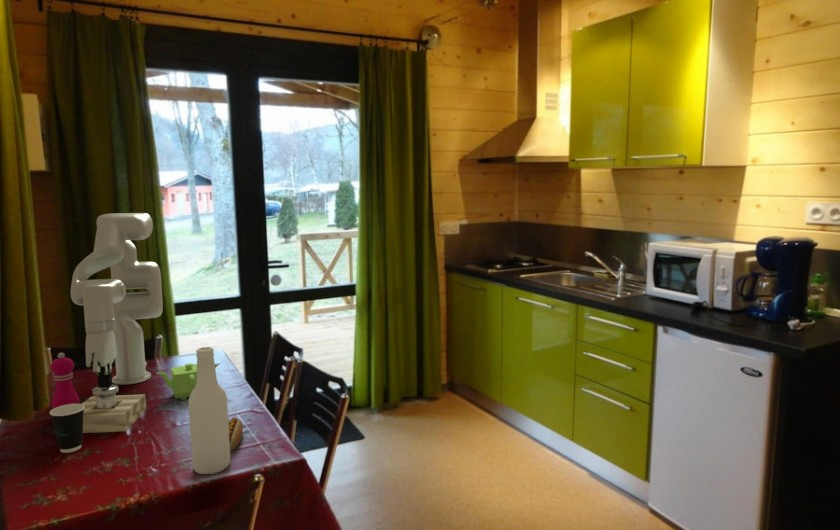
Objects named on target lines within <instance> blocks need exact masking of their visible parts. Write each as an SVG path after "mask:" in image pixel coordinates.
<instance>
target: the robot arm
mask: <svg viewBox="0 0 840 530" xmlns="http://www.w3.org/2000/svg"><path fill="white" fill-rule="evenodd" d="M153 227H154V223H153V219H152V217H151V215H150V214H148V213H146V212H139V213H138V212H130V213H129V212H126V213H125V212H119V213H117V212H116V213H112V212H111V213H105V214H101V215H99V216H98V217H97V219H96V233H95V240H94V245H93V246H94V247H93V252H91V253H90V254H89V255H87V256H86V257H84V259H82V260H81V261H80V262H79V263H78V264H77V266H76V267H75V269H74V271H73V274H72V278H71V285H70V299H71V300H72V302H73V303H74V304H75V305H78V306H83V313H84V328H85V333H86V336H85V364H86V365H85V366H86V367H87V368H91V367H92V371H93V373H95V374H96V376H97V387H99V388H109V387H110V386H112V384H114V385H118V386H119V385H124V386H127V385H135V384H138V383H144V382H146V381H147V380H149V379H150V378H151V377H152V373H151V372H149V371H147V369H146V367H147V365H148V362H146V355H145V340H144V331H143V328H142V326H141V325H140V324H139V323H138V322H137V321H136V320H143V319H155V318H159V317H161V316H162V313H163V309H164V308H163V307H164V306H163V305H164V303H163V302H164V301H163V287H162V273H161V269H160V266H159V264H158V263H156V262H154V261H139V260H138V255H137V248H136V245H135V244H134V243H133V242H132V241H142V240H147V239H148V238H149V237H150V236H151V235H152V232H153V230H154V229H153ZM108 268H110V276H111V278H105V279H104V278H103V279H102V278H101V279H89V278H90V277H91V276H92V275H94V274H96V273H98V272H101V271H103V270H106V269H108ZM135 289H137V290H138V289H139V290H140V289H146V290H147V291H140V292H127V290H135ZM114 360H115V361H114ZM114 362H115V372H116V374H115V376H113V377H112V370H113V369H112V365H113V363H114Z"/></svg>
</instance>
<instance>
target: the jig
mask: <svg viewBox="0 0 840 530" xmlns="http://www.w3.org/2000/svg"><path fill="white" fill-rule="evenodd" d="M81 404H83V405H84V406H85V408H84V414H83V434H89V433H90V434H91V433H113V432H114V433H116V432H117V433H118V432H126V431H127V430H128V429H129V428H130V427H131V426H133V424H134V423H135V422H136V421H137V420H138V419H139V418H140V417H141V416H142V415H143V414H144V413H146V411H147V401H146V394H145V393H144V394H124V395H123V394H121V395H116V407H115V408H114V409H97V401H96V396H90V397H89V398H87V399H86V400H85V401H83V402H82V403H81Z"/></svg>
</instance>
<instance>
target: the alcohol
mask: <svg viewBox="0 0 840 530" xmlns="http://www.w3.org/2000/svg"><path fill="white" fill-rule="evenodd" d="M214 350H215V349H214V348H213V347H211V346H205V347H199V348H196V350H195V352H196V356H195V357H196V364H197V383H196V387H195V388H194V390H193V391H192V393H191V394H190V396H189V398H188V414H189V416H188V417H189V434H190V447H191V448H190V449H191V450H190V451H191V461H192V463H191V464H192V469H193V471H194V472H195V473H196V472H197V473H196V474H198V473H199V475H201V474H211V475H213V474H212V473H216V472H219V471H221V470H223V471H225V470H226V469H228V467H229V466H230V464H231V451H230V444H229V426H228V420H229V413H228V412H229V411H228V410H229V409H228V396H227V394H226V390H225V389H224V388H223V387H222V386H221V385H220V384H219V383H218V382H219V381H218V378H217V371H216V368H215V364H216V362H215V357H214V356H215V353H214V352H215V351H214ZM225 468H226V469H225ZM224 469H225V470H224ZM221 472H222V471H221ZM219 473H220V472H219ZM216 474H217V473H216Z"/></svg>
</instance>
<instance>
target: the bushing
mask: <svg viewBox="0 0 840 530" xmlns="http://www.w3.org/2000/svg"><path fill="white" fill-rule="evenodd" d="M118 392H119V384H114V383H112V386H110V387H109V388H99V387H98V386H96V387H94V388H92V389H91V393H92V394H91V395H92V397H94V396H96V401H97V409H114V408H115V407H116V396H117V395H116V393H118Z"/></svg>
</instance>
